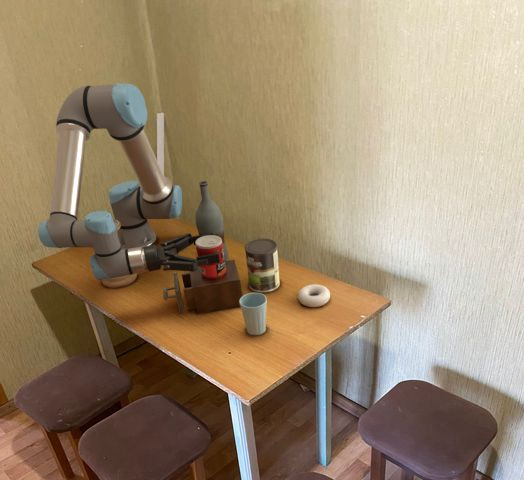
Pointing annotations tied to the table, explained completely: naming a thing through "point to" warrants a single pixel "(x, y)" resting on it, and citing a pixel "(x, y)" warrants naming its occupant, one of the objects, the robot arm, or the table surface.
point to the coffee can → (262, 265)
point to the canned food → (211, 246)
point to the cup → (254, 312)
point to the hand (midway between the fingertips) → (216, 247)
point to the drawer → (187, 292)
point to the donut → (314, 301)
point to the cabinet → (216, 290)
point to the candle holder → (120, 280)
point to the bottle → (210, 217)
